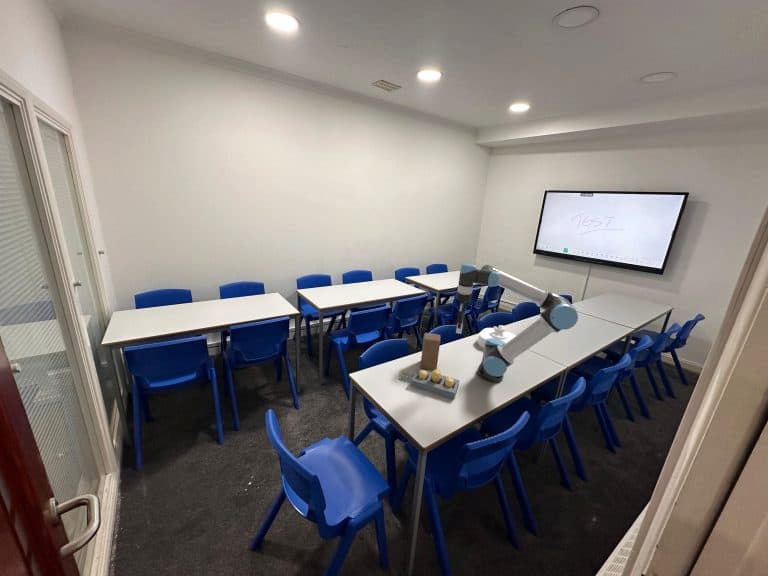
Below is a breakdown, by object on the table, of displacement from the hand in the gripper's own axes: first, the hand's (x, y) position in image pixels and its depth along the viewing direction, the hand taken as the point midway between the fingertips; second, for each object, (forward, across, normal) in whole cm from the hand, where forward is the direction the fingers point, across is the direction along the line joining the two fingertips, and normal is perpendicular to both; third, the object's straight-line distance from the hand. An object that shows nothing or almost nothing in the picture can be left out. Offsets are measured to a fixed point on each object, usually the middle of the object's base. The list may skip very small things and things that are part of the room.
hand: (458, 332), depth 166 cm
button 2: (+25, +12, -7) cm, 29 cm away
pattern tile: (+29, +12, -24) cm, 40 cm away
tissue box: (+30, -60, +21) cm, 70 cm away
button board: (+29, +12, -7) cm, 33 cm away
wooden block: (+30, -7, -16) cm, 34 cm away
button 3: (+28, +12, -14) cm, 34 cm away
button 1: (+28, +12, 0) cm, 30 cm away
